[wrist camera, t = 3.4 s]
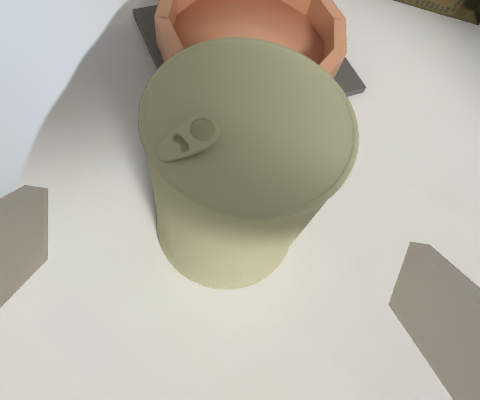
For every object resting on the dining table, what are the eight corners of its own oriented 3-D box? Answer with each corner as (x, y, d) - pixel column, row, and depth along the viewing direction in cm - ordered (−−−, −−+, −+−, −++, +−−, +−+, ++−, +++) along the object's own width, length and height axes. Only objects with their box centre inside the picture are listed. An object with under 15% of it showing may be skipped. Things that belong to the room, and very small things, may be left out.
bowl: (286, -21, 37) (294, -52, 34) (364, 92, 32) (380, 66, 29) (136, 4, 33) (132, -29, 30) (198, 139, 27) (199, 113, 25)
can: (133, 198, 25) (94, 65, 15) (245, 145, 28) (281, 4, 18) (200, 318, 23) (213, 262, 12) (317, 246, 26) (411, 149, 15)
